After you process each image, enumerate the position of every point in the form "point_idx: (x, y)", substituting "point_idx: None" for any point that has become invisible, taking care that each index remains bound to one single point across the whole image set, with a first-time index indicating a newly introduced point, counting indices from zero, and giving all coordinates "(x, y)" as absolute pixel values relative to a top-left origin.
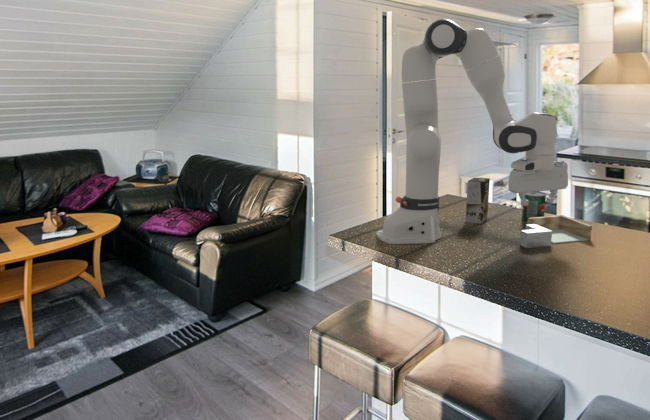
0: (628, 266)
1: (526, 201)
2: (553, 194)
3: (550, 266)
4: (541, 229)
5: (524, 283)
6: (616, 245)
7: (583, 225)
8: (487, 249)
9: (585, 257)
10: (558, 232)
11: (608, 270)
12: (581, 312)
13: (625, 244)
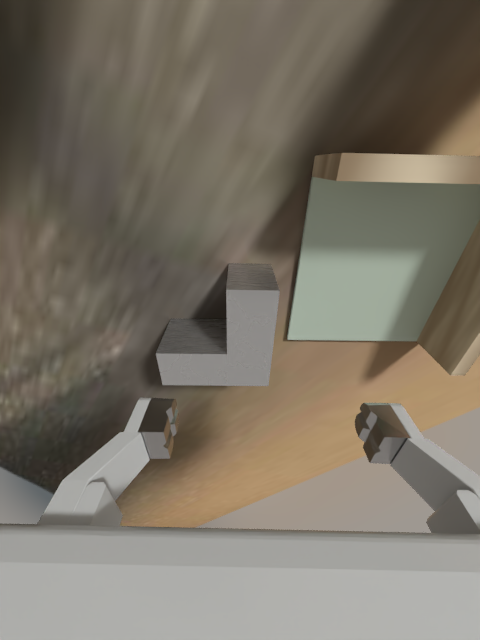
0: (309, 464)
1: (154, 451)
2: (425, 493)
3: None
4: (244, 363)
5: None
6: (432, 387)
7: (461, 348)
8: (42, 326)
9: (276, 424)
10: (418, 241)
11: (258, 467)
12: (123, 521)
13: (462, 387)
